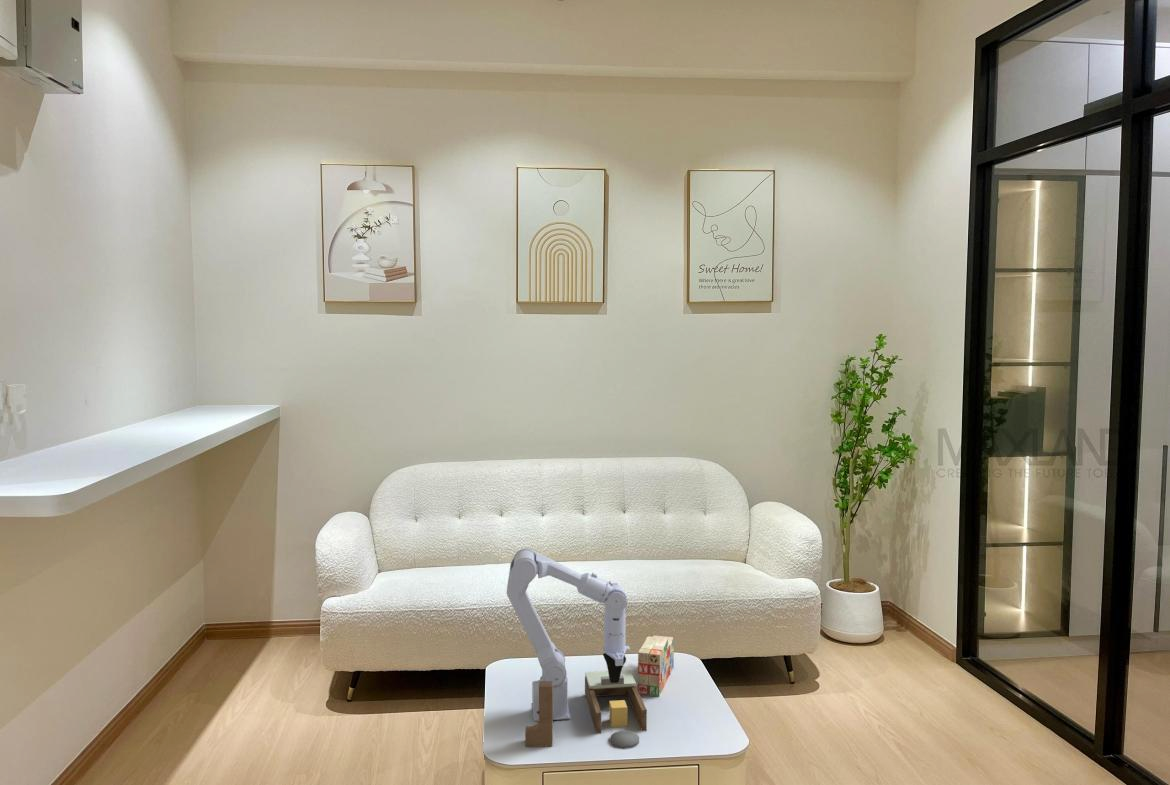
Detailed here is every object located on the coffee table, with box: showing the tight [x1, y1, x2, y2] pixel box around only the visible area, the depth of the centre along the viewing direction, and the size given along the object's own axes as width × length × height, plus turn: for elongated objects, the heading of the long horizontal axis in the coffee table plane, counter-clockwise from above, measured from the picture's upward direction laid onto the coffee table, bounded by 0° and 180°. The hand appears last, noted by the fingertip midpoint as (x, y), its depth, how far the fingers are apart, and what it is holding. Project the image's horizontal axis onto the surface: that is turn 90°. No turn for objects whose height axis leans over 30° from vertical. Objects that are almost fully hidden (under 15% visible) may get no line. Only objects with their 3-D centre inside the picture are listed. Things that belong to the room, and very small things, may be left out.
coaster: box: [610, 730, 640, 749], centre depth 197 cm, size 7×7×1 cm
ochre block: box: [608, 699, 628, 728], centre depth 206 cm, size 4×4×5 cm
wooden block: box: [524, 681, 554, 747], centre depth 195 cm, size 7×3×15 cm, turn 91°
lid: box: [584, 669, 637, 689], centre depth 219 cm, size 13×9×2 cm
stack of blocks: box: [637, 634, 675, 698], centre depth 232 cm, size 21×6×12 cm, turn 163°
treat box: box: [584, 676, 648, 734], centre depth 212 cm, size 13×22×5 cm, turn 8°
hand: (614, 681), depth 212 cm, fingers closed
